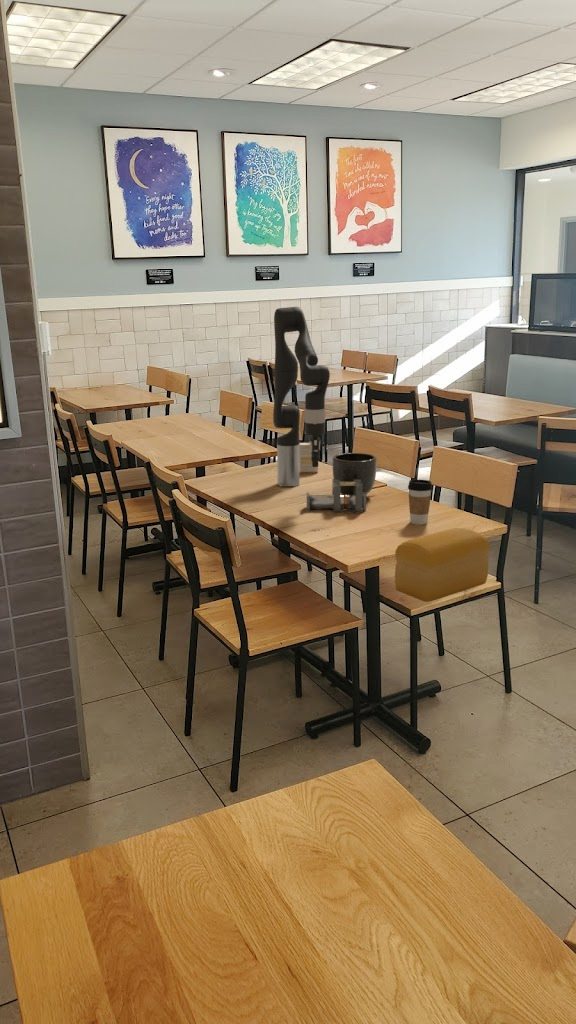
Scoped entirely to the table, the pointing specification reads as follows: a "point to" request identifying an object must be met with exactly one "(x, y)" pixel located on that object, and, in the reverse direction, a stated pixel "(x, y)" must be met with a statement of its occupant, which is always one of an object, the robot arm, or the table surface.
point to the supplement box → (306, 458)
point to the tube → (328, 501)
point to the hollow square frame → (356, 491)
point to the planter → (355, 470)
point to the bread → (441, 564)
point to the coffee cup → (419, 500)
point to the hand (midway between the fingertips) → (314, 464)
